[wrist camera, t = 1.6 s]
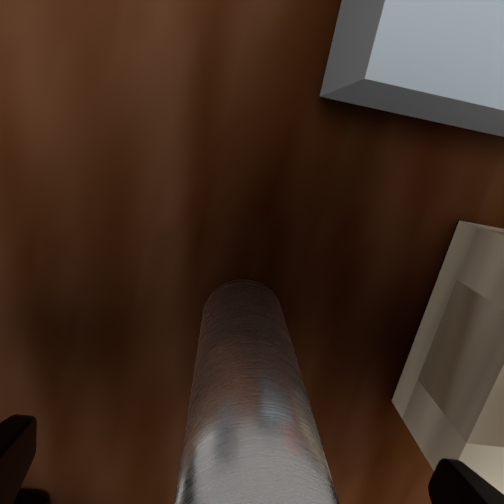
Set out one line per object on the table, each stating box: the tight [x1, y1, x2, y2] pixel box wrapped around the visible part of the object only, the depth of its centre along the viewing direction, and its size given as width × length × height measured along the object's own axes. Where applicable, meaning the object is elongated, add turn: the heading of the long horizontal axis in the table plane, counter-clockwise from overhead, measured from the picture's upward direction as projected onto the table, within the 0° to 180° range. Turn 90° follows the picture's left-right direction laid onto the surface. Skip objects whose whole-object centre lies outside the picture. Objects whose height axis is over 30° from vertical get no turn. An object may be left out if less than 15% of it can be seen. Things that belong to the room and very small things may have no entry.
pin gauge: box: [174, 279, 339, 504], centre depth 9 cm, size 3×3×10 cm
